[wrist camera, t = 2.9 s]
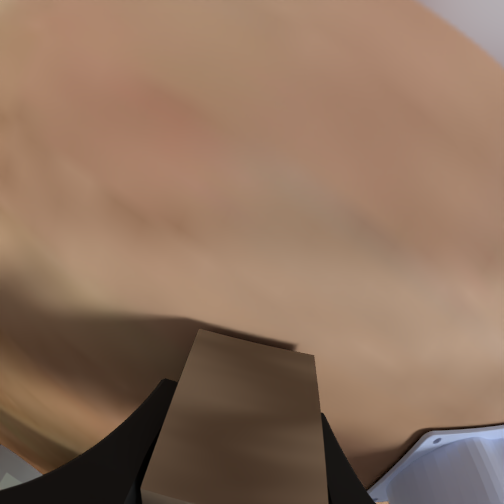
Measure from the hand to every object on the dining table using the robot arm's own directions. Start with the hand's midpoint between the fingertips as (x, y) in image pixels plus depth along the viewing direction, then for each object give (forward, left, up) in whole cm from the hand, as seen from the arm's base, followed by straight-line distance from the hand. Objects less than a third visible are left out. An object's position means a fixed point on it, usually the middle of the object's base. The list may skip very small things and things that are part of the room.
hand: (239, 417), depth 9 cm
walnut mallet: (0, +8, -2) cm, 8 cm away
